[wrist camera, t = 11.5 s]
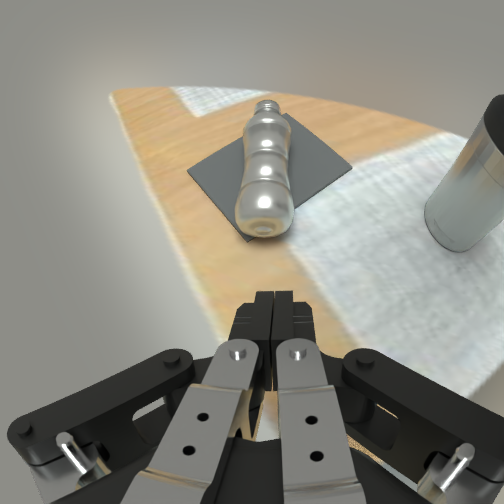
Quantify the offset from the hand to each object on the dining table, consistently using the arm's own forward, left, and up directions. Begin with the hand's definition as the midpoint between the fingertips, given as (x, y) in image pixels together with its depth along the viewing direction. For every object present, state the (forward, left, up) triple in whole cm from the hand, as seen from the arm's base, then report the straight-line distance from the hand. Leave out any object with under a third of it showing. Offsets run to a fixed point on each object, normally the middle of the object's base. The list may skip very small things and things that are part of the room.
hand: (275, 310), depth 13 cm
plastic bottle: (-7, -10, -17) cm, 21 cm away
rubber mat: (-14, -19, -20) cm, 31 cm away
